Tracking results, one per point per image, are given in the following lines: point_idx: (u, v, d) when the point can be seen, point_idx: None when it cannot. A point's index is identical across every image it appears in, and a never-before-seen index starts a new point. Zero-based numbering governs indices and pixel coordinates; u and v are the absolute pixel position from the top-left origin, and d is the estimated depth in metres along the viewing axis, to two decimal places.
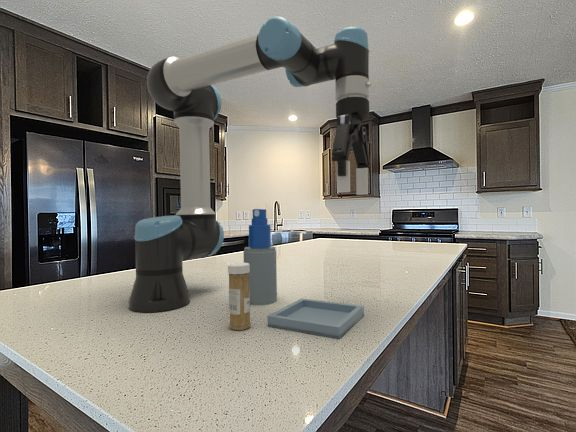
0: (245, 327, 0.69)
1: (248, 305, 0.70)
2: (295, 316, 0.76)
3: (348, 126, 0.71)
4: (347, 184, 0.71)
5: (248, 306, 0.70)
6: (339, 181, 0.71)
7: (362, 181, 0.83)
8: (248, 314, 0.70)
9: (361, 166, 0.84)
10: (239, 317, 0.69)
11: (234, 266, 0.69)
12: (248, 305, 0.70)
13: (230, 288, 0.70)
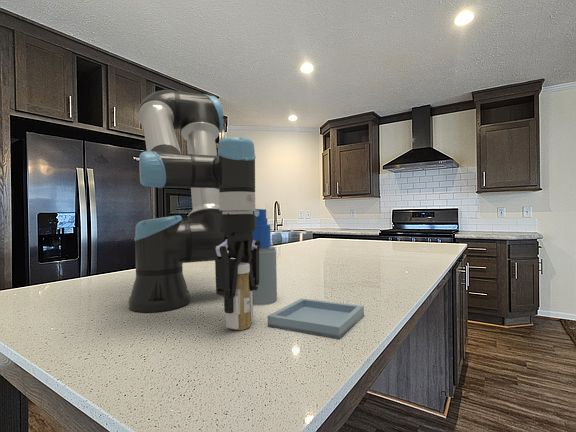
0: (245, 327, 0.69)
1: (248, 305, 0.70)
2: (295, 316, 0.76)
3: (226, 258, 0.66)
4: (234, 321, 0.68)
5: (248, 306, 0.70)
6: (228, 316, 0.69)
7: None
8: (248, 314, 0.70)
9: None
10: (239, 317, 0.69)
11: None
12: (248, 305, 0.70)
13: None
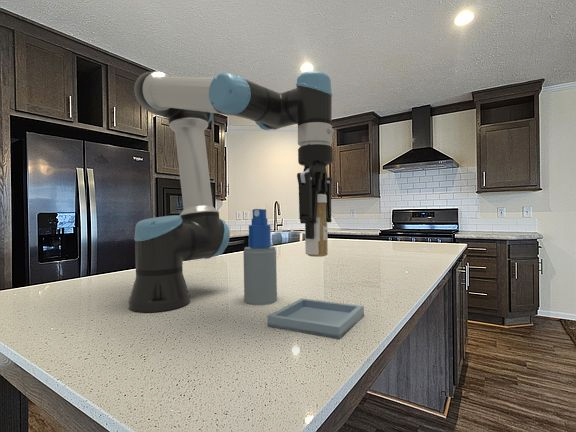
0: (324, 254, 0.72)
1: (326, 233, 0.73)
2: (295, 316, 0.76)
3: (310, 184, 0.69)
4: (315, 247, 0.71)
5: (326, 234, 0.73)
6: (308, 243, 0.72)
7: None
8: (326, 242, 0.73)
9: None
10: (319, 244, 0.72)
11: None
12: (326, 233, 0.73)
13: None
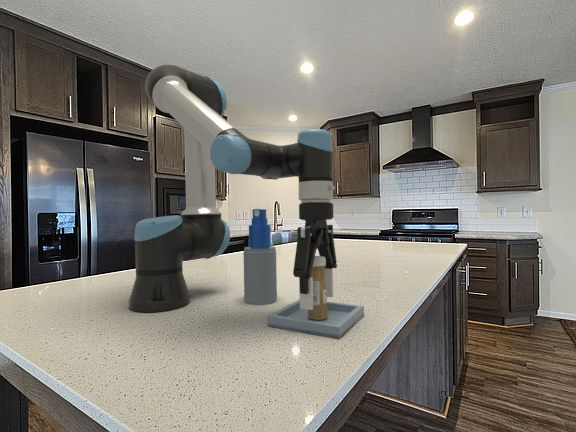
0: (325, 317, 0.73)
1: (326, 296, 0.73)
2: (295, 316, 0.76)
3: (309, 239, 0.68)
4: (310, 302, 0.69)
5: (326, 297, 0.73)
6: (302, 297, 0.69)
7: (327, 283, 0.79)
8: (326, 305, 0.74)
9: (326, 266, 0.80)
10: (319, 307, 0.72)
11: None
12: (326, 296, 0.73)
13: None
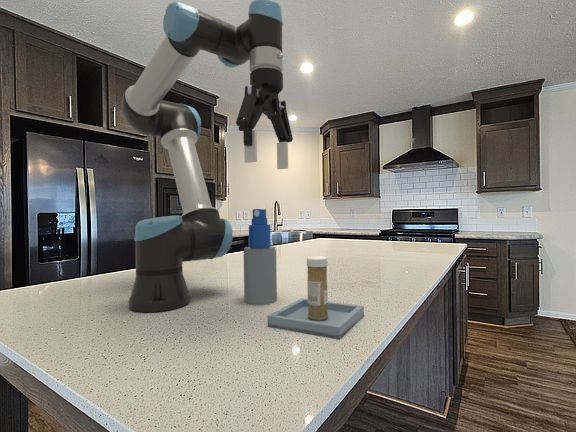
0: (325, 318, 0.73)
1: (326, 297, 0.73)
2: (295, 316, 0.76)
3: (255, 95, 0.71)
4: (253, 153, 0.71)
5: (327, 298, 0.73)
6: (247, 151, 0.71)
7: (282, 155, 0.83)
8: (326, 305, 0.73)
9: (282, 140, 0.84)
10: (320, 308, 0.72)
11: (315, 259, 0.72)
12: None
13: (310, 280, 0.73)
